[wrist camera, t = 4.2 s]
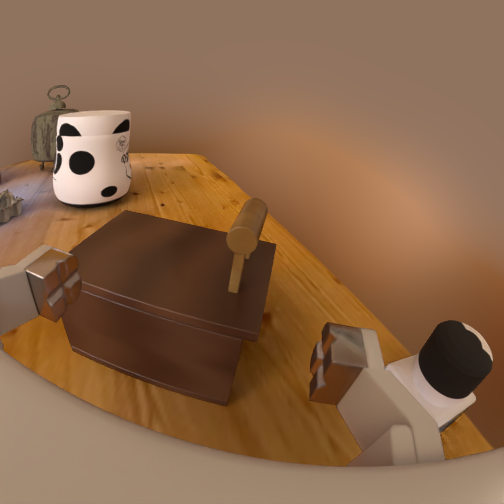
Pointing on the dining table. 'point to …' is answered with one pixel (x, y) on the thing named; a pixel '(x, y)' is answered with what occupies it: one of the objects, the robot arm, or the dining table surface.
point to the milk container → (92, 157)
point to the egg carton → (9, 206)
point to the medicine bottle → (446, 371)
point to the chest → (153, 347)
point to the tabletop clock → (48, 130)
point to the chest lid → (183, 269)
